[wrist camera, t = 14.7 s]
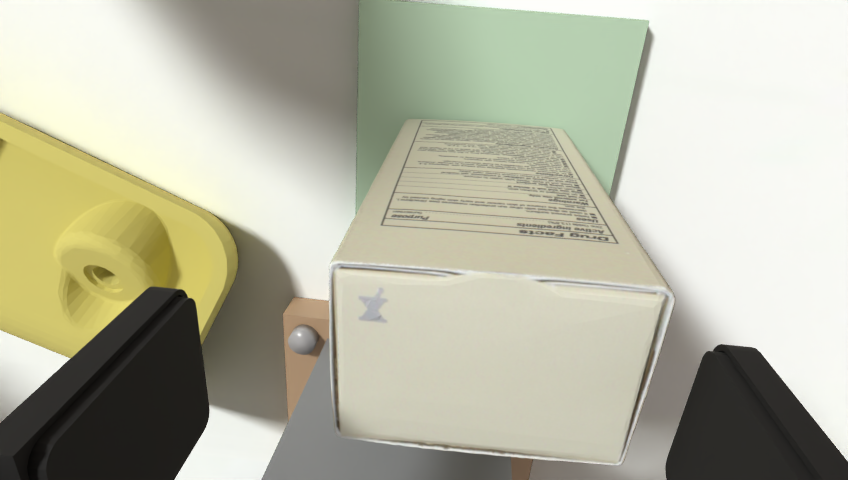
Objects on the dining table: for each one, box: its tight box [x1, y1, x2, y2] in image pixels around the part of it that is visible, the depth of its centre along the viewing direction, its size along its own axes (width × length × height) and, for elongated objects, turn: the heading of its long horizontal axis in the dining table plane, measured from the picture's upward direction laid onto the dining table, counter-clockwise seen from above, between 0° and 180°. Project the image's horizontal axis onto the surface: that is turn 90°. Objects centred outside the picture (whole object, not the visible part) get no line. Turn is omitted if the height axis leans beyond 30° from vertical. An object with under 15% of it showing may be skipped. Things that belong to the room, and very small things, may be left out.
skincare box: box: [329, 119, 675, 466], centre depth 16 cm, size 6×4×12 cm
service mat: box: [356, 0, 649, 214], centre depth 21 cm, size 10×12×1 cm
